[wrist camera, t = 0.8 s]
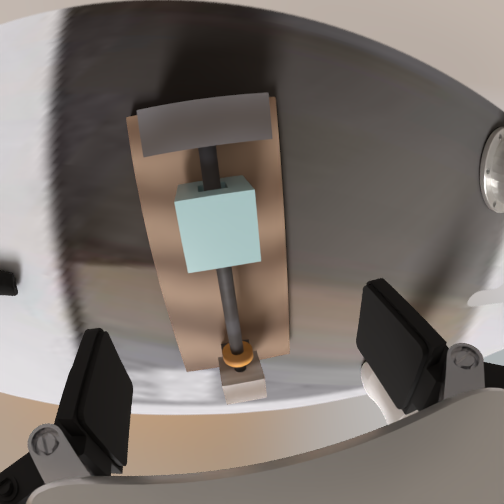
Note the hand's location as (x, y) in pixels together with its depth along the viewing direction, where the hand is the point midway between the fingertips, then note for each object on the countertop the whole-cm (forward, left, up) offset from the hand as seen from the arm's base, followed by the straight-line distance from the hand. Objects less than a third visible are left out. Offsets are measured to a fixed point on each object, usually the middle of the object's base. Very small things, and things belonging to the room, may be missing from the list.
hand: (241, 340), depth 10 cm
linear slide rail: (0, +5, -18) cm, 19 cm away
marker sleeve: (0, 0, -15) cm, 15 cm away
